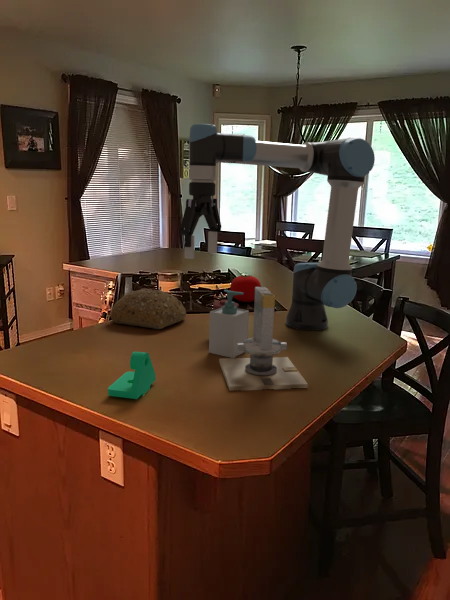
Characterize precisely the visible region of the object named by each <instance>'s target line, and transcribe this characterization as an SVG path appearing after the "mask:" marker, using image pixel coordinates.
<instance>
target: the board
mask: <svg viewBox="0 0 450 600" xmlns="http://www.w3.org/2000/svg"><path fill="white" fill-rule="evenodd" d="M218 364H219V366H220V368H221V371H222V374H223V378H224V380H225V383H226V385H227V388H228V390H229V392H233V391H234V390H235V391H236V390H237V391H238V390H241V391H263V390H262V389H265V390H264V391H266V389H274V390H292V389H291V388H307V389H308V386H309V383H307V381H306V380H305V378H304V377H303V376H302V374H301V373H300V371H299V370H298V368H297V367H296V366H295V365H294V364H293V363H292V361H291V359H290V358H289V357H288V356H283V357H282V356H281V357H280V356H278V357H277V356H275V357H274V356H273V363H272V365H274V366H276V368H277V372H276V373H275V374H274V375H271V376H254V375H251V374H249V373H247V372H246V371H245V366H246V365H247V364H250V357H234V358H230V357H225V358H221V357H220V358H219V360H218Z"/></svg>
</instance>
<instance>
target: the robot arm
mask: <svg viewBox="0 0 450 600" xmlns="http://www.w3.org/2000/svg"><path fill="white" fill-rule="evenodd" d="M188 139H189V141H188V145H189V147H188V148H189V150H188V151H189V154H188V155H189V169H188V173H189V175H188V176H189V178H188V179H189V181H190V182H189V184H188V193H189V195H190V196H192V199H191V198H187V199H186V201H185V209H184V212H183V216H182V220H181V225H180V228H179V234H180V235H181V236H184V259H190V260H194V259H195V235H193V234H194V232H195V230H196V228H197V225H198V222H199V220H200V218H201V217H202V216H204V219H205V222H206V224H207V226H208V229H209V231H208V232H207V237H208V238H207V245H208V246H207V253H209V254H217V253H218V232H221V231H222V223H221V218H220V217H221V216H220V212H219V209H218V199H217V198H213V197H215V196H216V183H215V182H214V181H216V179H217V178H216V177H217V175H216V174H217V171H216V170H217V167H216V166H217V164H218V163H219V164H220V163H222V164H223V163H224V164H238V165H239V164H241V165H250V166H251V165H254V166H263V167H277V168H278V167H279V168H291V169H299V171H301V172H304V173H312V174H318V175H321V176H322V175H323V176H327V179H326V181H327V183H328V184H329V185H330V194H329V201H328V210H327V216H326V217H327V218H326V225H325V226H326V227H325V235H324V241H323V251H322V259H321V260H320V261H319V262H298V263H296V264H295V265H294V266H293V267H294V268H293V272H292V274H293V277H292V278H293V279H292V281H293V282H292V295H291V304H290V307H289V309H288V312H287V313H286V317H285V324H286V325H287V326H288V327H290V328H292V329H297V330H300V331H301V330H302V331H319V330H321V331H322V330H325V329H327V328H328V322H329V319H328V315H327V312H326V307H328V308H334V309H340V308H344V307H347V306H349V304H350V303H351V302H352V301H353V300H354V298H355V297H356V294H357V289H358V287H357V282H356V281H355V278H354V277H353V276H352V273H353V267H352V266H351V264H350V263H349V260H350V253H351V252H350V251H351V246H352V239H353V230H354V223H355V216H356V208H357V207H356V206H357V200H358V194H359V188H361V187H362V186H363V185H364V184H365V178H366V177H367V175H368V174H370V172H371V171H373V168H374V165H375V160H376V159H375V151H374V149H373V147H372V145H370V143H369V142H368V141H367V140H366V139H364V138H361V137H347V138H341V139H332V140H331V139H329V140H324V141H319V142H317V141H316V142H311V141H310V142H309V141H308V142H307V141H305V142H304V143H302V144H295V143H283V142H275V141H274V142H272V141H266V140H265V141H264V140H263V141H262V140H256V139H255V137H254V136H253V135H249V134H245V133H241V134H239V133H223V132H222V133H221V132H218V129H217V126H216V125H215V124H210V123H194V124H192V125H191V126H190V129H189V138H188ZM325 306H326V307H325Z"/></svg>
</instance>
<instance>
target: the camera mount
mask: <svg viewBox="0 0 450 600" xmlns="http://www.w3.org/2000/svg"><path fill="white" fill-rule="evenodd" d="M129 367H130V369H131V370H133V371H130V370H129V371H125V372H124V373H123V374H122V375H121V376H120V377H118V378H117V380H115V381H114V382H113V383H112V384H111V385H109V386H108V387H107V394H108V396H110V397H115V398H125V399H133V400H138V399H139V398H140V397H144V396H145V395H146V394H147V393H148V392H149V391H150V390H151V385H153V383H154V382H155V381H156V372H155V369H154V365H153V363H152V358H151V356H150V353H149V352H144V351H133V352H132V353H131V356H130V358H129ZM149 389H150V390H149ZM148 390H149V391H148ZM147 391H148V392H147ZM146 392H147V393H146ZM145 393H146V394H145ZM144 394H145V395H144ZM143 395H144V396H143Z"/></svg>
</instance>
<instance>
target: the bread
mask: <svg viewBox="0 0 450 600" xmlns="http://www.w3.org/2000/svg"><path fill="white" fill-rule="evenodd" d="M186 316H187V311H186V308H185V306H184V305H183V303H182V302H181V300H179V299H178V298H177V297H176V296H174V295H173V294H171V293H168V292H165V291H163V290H158V289H157V290H156V289H154V288H149V289H148V288H141V289H137V290H134V291H130V292H129V293H127V294H124V295H123V296H122V297H120V299H119V300H117V301H116V302H115V303H114V304H113V306H112V307H111V312H110V315H109V317H110V318H111V321H112V322H114V323H116V324H117V325H128V326H131V327H141V328H149V329H153V330H161V329H164V328H166V327H168V326H172V325H174V324H177V323H179V322H181V321H182V320H184V319H185V318H186Z"/></svg>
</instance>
